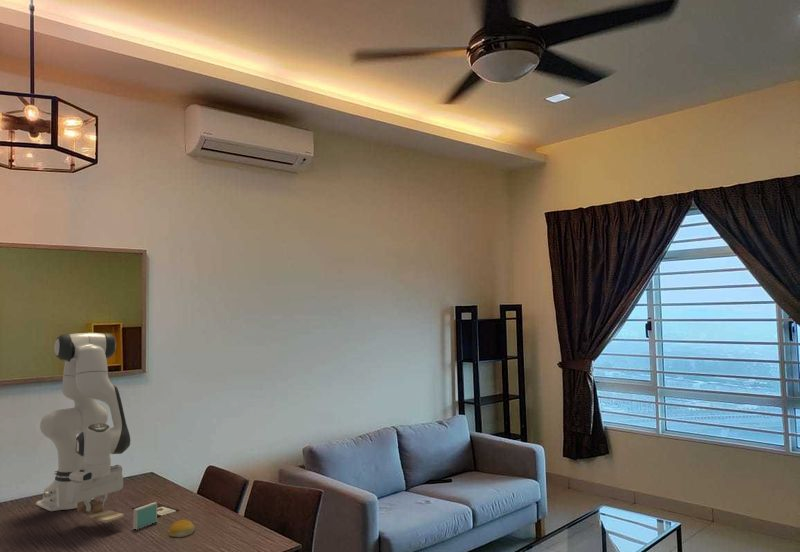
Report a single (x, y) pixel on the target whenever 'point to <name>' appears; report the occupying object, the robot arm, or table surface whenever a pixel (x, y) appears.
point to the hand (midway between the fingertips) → (95, 508)
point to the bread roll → (181, 528)
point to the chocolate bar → (161, 509)
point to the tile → (145, 515)
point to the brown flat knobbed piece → (99, 511)
